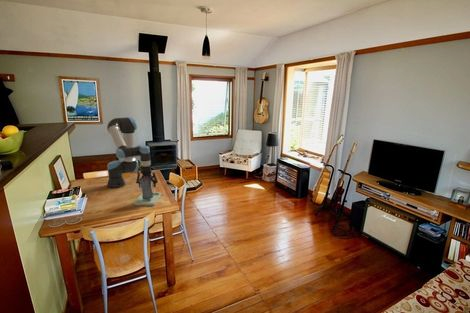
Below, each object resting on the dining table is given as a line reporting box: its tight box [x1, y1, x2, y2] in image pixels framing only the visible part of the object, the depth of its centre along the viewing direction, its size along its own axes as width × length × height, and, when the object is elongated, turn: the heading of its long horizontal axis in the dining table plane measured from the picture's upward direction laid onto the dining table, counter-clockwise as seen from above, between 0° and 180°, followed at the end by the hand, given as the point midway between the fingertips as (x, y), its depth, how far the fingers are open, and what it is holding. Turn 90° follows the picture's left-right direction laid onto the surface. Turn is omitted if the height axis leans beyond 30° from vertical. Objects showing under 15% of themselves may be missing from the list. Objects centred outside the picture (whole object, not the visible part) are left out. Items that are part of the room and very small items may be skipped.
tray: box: [133, 191, 162, 207], centre depth 201 cm, size 21×16×2 cm
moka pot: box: [138, 175, 154, 199], centre depth 198 cm, size 10×15×20 cm, turn 135°
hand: (147, 190), depth 199 cm, fingers closed on moka pot, 9 cm apart
